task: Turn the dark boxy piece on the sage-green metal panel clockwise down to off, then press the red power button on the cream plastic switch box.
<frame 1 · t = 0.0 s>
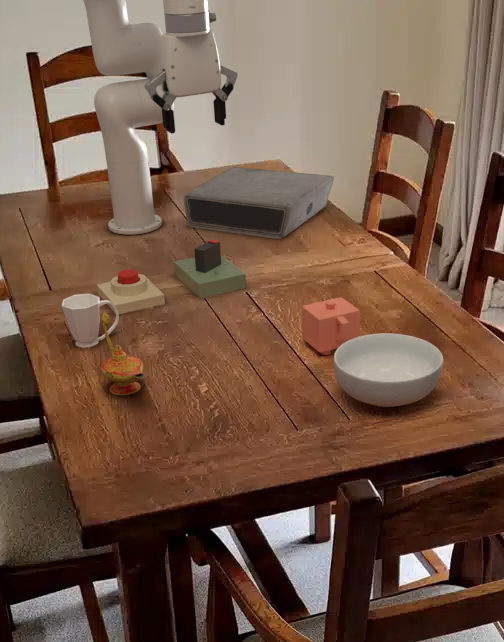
hand: (195, 127, 173), 31 cm above the table, tool pointing down, fingers open, 9 cm apart
red boxy piece: (329, 345, 168), on the table
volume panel: (209, 281, 194), on the table
power button: (128, 277, 186), point 4 cm above the table, slide at 0.1 cm
speaker: (256, 218, 226), on the table
switch box: (131, 298, 189), on the table
cereal bowl: (386, 396, 152), on the table
cup: (95, 341, 174), on the table
dark boxy piece: (207, 255, 191), point 5 cm above the table, hinge at 120.0°
magic lamp: (128, 393, 157), on the table
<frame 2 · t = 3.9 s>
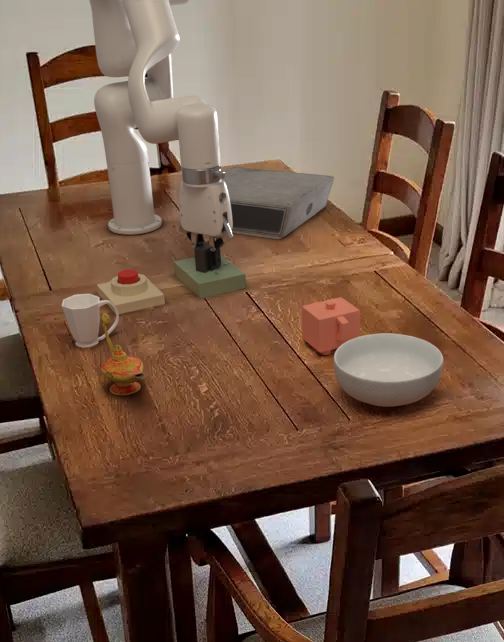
hand: (208, 265, 192), 3 cm above the table, tool pointing down, fingers closed on dark boxy piece, 2 cm apart
dark boxy piece: (207, 255, 191), point 5 cm above the table, hinge at 120.0°, touching gripper
everything else where it was.
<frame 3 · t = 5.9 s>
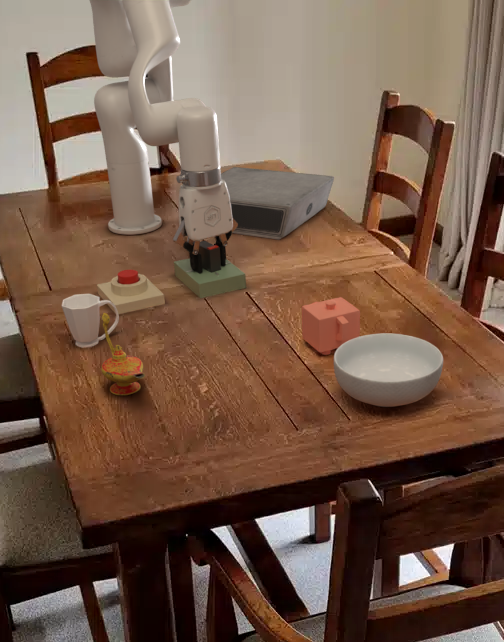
hand: (208, 267, 192), 3 cm above the table, tool pointing down, fingers open, 4 cm apart
dark boxy piece: (207, 255, 191), point 5 cm above the table, hinge at 10.7°
everything else where it was.
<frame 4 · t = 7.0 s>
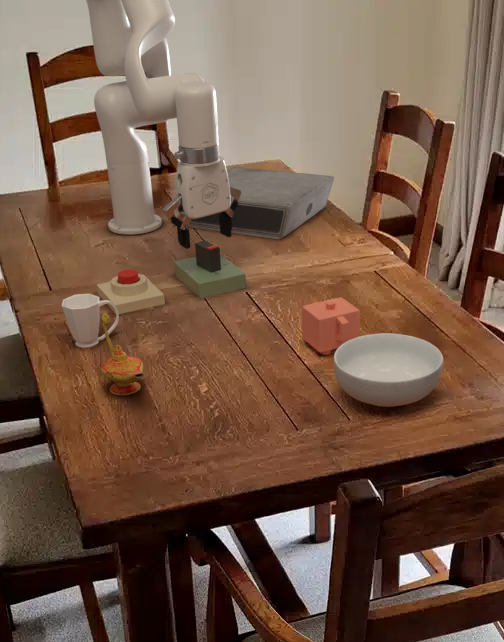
hand: (205, 240, 190), 8 cm above the table, tool pointing down, fingers open, 9 cm apart
nothing on the table moved.
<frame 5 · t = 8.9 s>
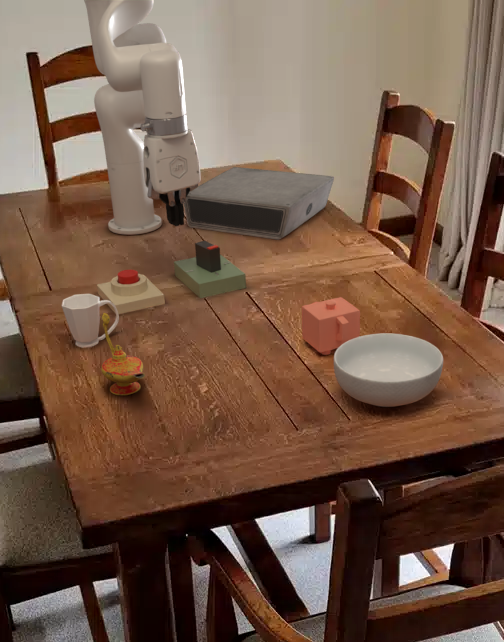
hand: (176, 223, 185), 13 cm above the table, tool pointing down, fingers closed
nothing on the table moved.
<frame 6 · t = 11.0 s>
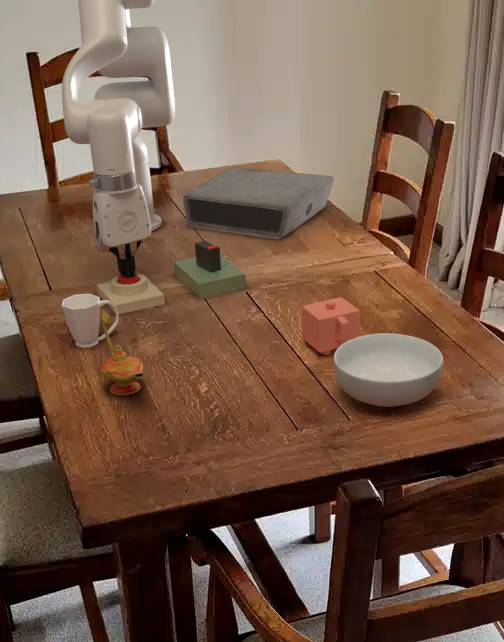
hand: (127, 275, 186), 5 cm above the table, tool pointing down, fingers closed
power button: (128, 279, 186), point 4 cm above the table, slide at -0.3 cm, touching gripper
everything else where it was.
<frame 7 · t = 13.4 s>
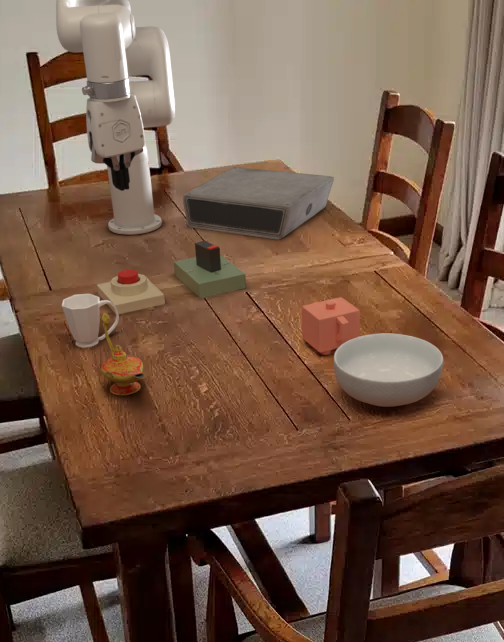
hand: (122, 188, 185), 19 cm above the table, tool pointing down, fingers closed
power button: (128, 277, 186), point 4 cm above the table, slide at 0.1 cm
everything else where it was.
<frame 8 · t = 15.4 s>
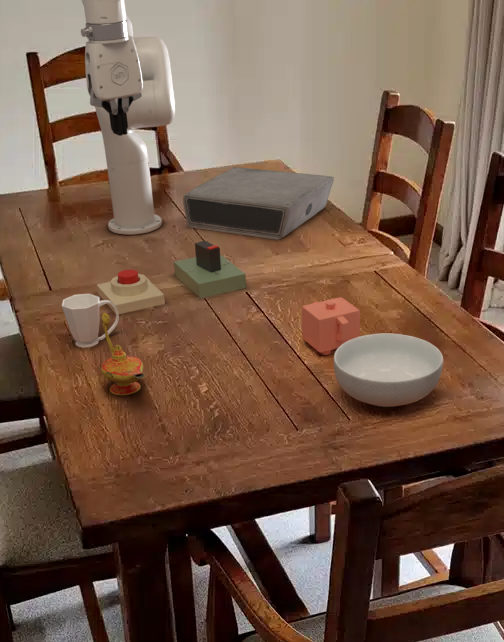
hand: (120, 133, 188), 27 cm above the table, tool pointing down, fingers closed
nothing on the table moved.
at the end: dark boxy piece at +11° (first picture: +120°); power button pushed in 1.0 cm at the most during the clip, back to where it started at the end; power button slide at 0.1 cm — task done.
